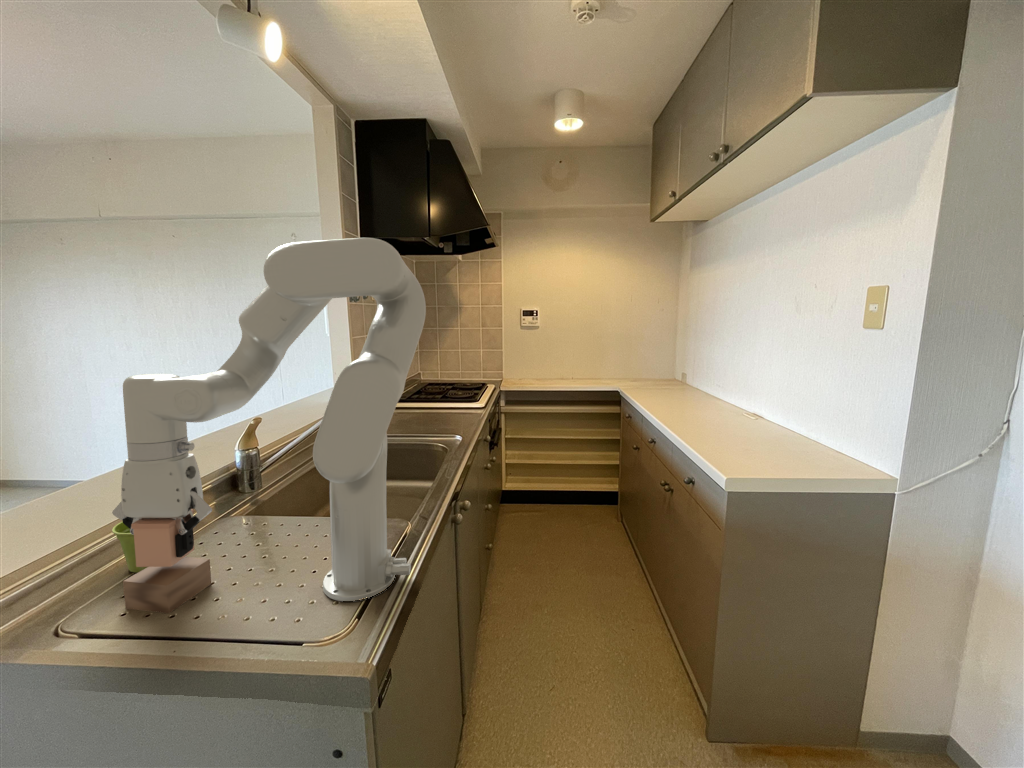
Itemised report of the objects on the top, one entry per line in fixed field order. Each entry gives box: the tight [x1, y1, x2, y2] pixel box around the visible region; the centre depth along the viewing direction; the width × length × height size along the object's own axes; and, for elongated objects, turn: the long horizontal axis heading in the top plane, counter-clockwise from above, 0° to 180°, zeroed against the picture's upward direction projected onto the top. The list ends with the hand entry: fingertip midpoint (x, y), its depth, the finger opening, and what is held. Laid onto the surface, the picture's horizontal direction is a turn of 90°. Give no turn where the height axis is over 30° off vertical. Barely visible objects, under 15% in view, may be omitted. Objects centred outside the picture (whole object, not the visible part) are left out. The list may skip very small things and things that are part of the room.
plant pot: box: [111, 520, 147, 573], centre depth 79 cm, size 9×9×9 cm
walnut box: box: [122, 556, 212, 614], centre depth 70 cm, size 8×8×5 cm
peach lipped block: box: [131, 509, 195, 567], centre depth 69 cm, size 6×6×7 cm
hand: (165, 552), depth 69 cm, fingers closed on peach lipped block, 5 cm apart
